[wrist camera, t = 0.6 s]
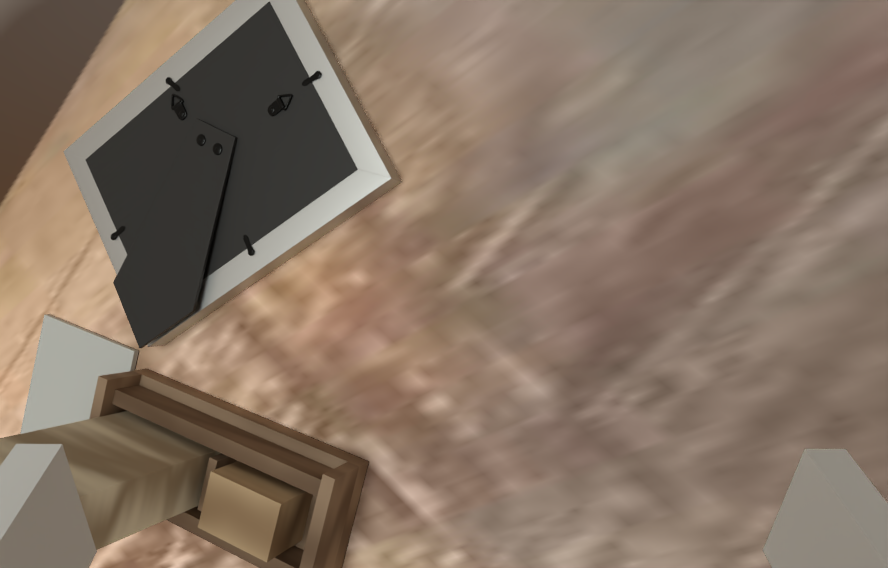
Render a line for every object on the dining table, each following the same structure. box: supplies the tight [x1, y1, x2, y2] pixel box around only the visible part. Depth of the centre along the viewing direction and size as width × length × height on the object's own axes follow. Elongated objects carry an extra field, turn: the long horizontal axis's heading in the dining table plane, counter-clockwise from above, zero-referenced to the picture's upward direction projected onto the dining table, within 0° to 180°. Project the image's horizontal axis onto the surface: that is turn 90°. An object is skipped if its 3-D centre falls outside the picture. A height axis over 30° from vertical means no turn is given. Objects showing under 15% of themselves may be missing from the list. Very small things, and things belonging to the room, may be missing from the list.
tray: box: [89, 369, 369, 568], centre depth 42 cm, size 8×18×4 cm, turn 74°
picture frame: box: [64, 0, 402, 348], centre depth 44 cm, size 16×3×21 cm
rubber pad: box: [20, 314, 139, 434], centre depth 49 cm, size 10×9×1 cm
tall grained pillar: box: [0, 411, 221, 550], centre depth 36 cm, size 4×8×18 cm, turn 74°
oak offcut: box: [198, 461, 313, 562], centre depth 40 cm, size 4×5×4 cm
